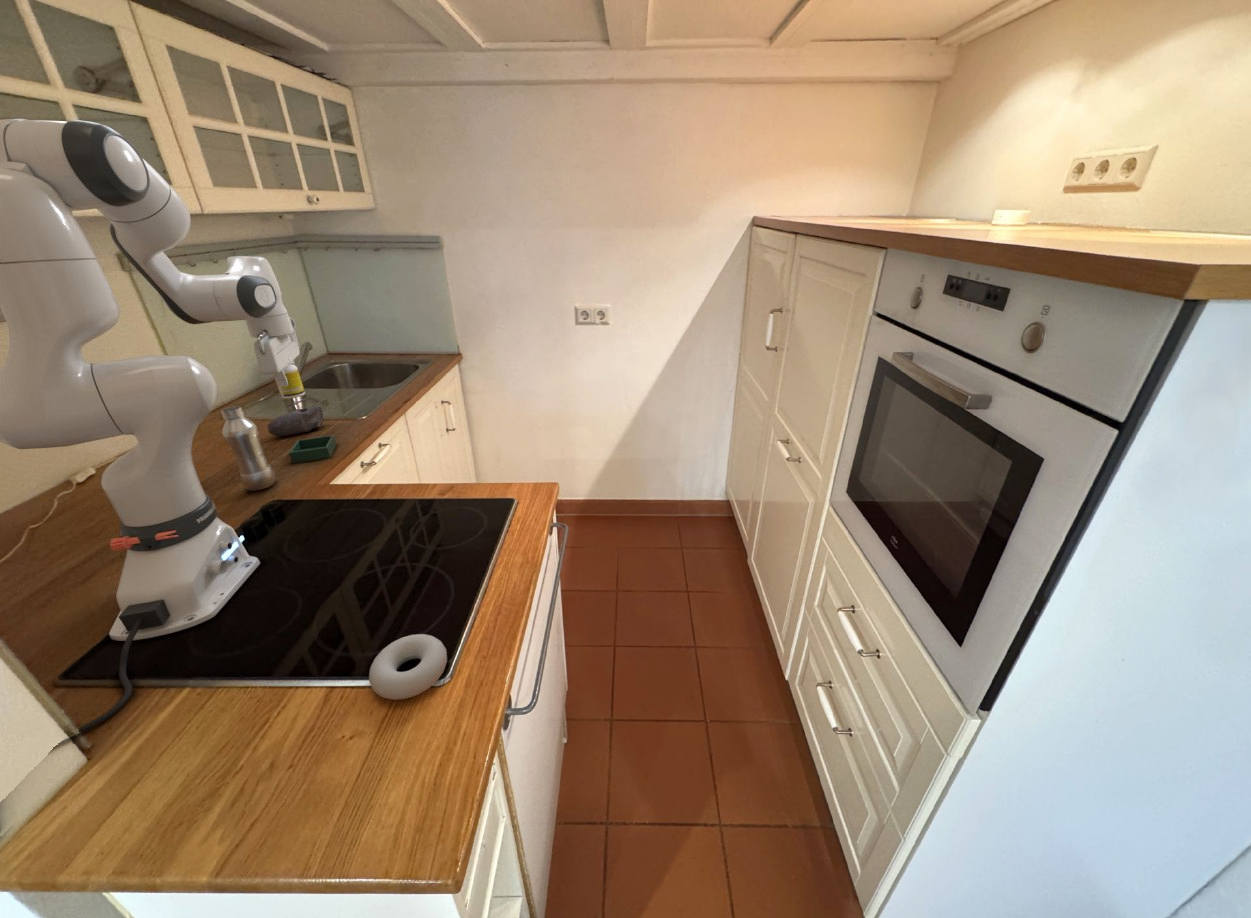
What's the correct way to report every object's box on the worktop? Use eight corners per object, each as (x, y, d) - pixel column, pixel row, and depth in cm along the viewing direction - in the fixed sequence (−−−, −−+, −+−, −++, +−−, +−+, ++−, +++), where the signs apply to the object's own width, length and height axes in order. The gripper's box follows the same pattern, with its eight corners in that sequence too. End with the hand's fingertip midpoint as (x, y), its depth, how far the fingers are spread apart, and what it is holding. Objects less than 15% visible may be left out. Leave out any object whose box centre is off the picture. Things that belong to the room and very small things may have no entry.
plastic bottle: (239, 490, 119) (206, 411, 110) (269, 478, 124) (239, 402, 115) (255, 496, 116) (221, 416, 107) (284, 483, 121) (254, 406, 112)
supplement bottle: (310, 393, 129) (298, 356, 125) (289, 400, 125) (276, 361, 120) (297, 391, 131) (285, 354, 127) (276, 397, 127) (263, 359, 122)
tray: (330, 457, 134) (326, 447, 133) (292, 463, 132) (288, 452, 130) (336, 444, 142) (333, 435, 140) (301, 449, 139) (297, 439, 138)
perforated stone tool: (271, 442, 145) (263, 419, 142) (270, 436, 149) (262, 414, 146) (329, 428, 153) (322, 407, 150) (326, 424, 157) (319, 403, 154)
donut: (393, 720, 63) (463, 669, 69) (386, 702, 61) (458, 652, 68) (360, 678, 69) (427, 635, 75) (353, 660, 67) (422, 617, 74)
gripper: (272, 334, 112) (292, 392, 118) (295, 318, 130) (312, 370, 136) (239, 336, 110) (261, 396, 116) (268, 320, 128) (285, 373, 134)
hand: (288, 382), depth 126 cm, fingers closed on supplement bottle, 5 cm apart
